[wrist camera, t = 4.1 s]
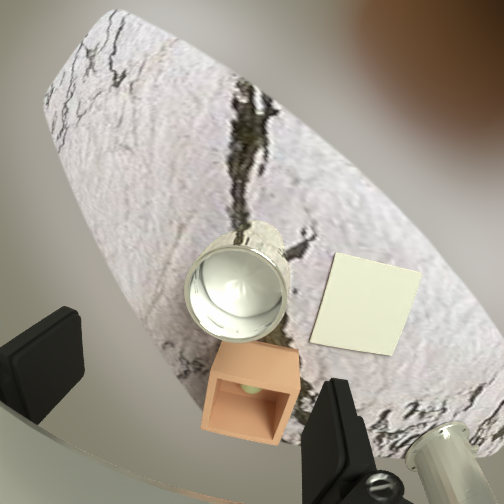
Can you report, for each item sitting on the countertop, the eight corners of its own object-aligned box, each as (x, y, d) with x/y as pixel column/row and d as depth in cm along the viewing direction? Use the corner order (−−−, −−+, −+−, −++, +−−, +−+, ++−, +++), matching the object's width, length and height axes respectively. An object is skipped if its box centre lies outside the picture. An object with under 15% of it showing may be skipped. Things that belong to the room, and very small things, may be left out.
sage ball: (268, 368, 36) (266, 382, 33) (262, 386, 36) (260, 400, 33) (243, 362, 36) (240, 376, 33) (239, 381, 37) (236, 395, 34)
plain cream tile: (421, 272, 32) (422, 273, 32) (390, 354, 35) (391, 355, 34) (335, 252, 33) (336, 253, 32) (309, 340, 35) (309, 342, 35)
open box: (298, 349, 36) (300, 389, 28) (280, 403, 38) (277, 445, 30) (225, 333, 36) (210, 369, 28) (214, 389, 38) (200, 428, 30)
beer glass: (232, 283, 35) (196, 351, 20) (218, 222, 33) (168, 252, 19) (293, 273, 34) (298, 338, 19) (281, 210, 32) (279, 231, 18)
